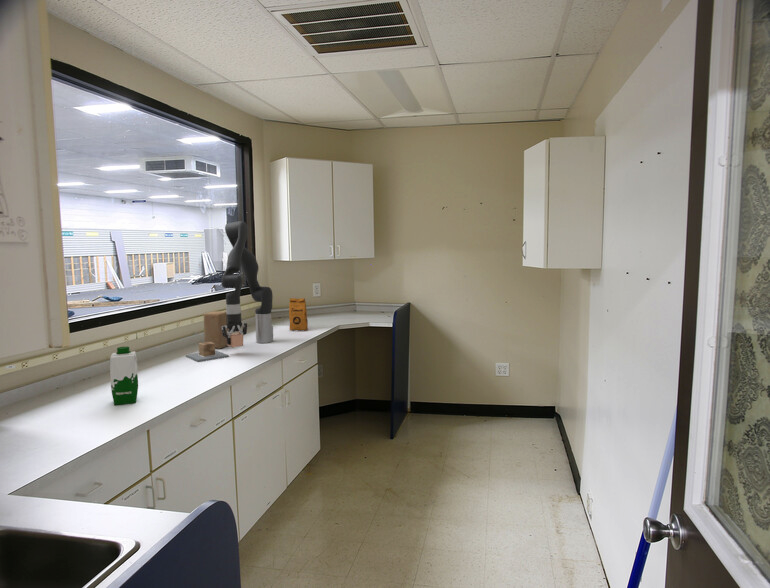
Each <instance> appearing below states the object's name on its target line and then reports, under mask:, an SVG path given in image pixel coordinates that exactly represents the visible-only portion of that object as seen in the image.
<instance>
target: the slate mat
mask: <svg viewBox="0 0 770 588" xmlns="http://www.w3.org/2000/svg"><path fill="white" fill-rule="evenodd" d="M229 356H230V355H229V354H226V353H224V352H222V351H218V350H217V349H215V355H211V356H201V355H199V352H196V353H187V354H185V357H186V358H188V357H189V359H190V358H191V360H192V359H193V360H192V361H195V362H197V363H200V362H201V363H202V362H206V360H207V361H211V360H212V359H213V360H218V358H219V359H224V357H225V358H229ZM213 360H212V361H213Z"/></svg>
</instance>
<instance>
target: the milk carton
mask: <svg viewBox="0 0 770 588" xmlns="http://www.w3.org/2000/svg"><path fill="white" fill-rule="evenodd" d="M109 359H110V360H109V369H110V370H109V373H110V389H111V396H112V400H113V401H112V402H113V406H121V405H129V404H136V403H137V398H138V389H139V374H138V360H137V354H136V351H132V350H131V351H130V346H120V347H117V348H116V352H113V353H111V355H110V358H109Z"/></svg>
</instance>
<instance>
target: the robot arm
mask: <svg viewBox="0 0 770 588" xmlns="http://www.w3.org/2000/svg"><path fill="white" fill-rule="evenodd" d="M248 229H249V227H248V225H247V223H246V222H245V221H244V220H243V221H242V220H239V221H234V222H232V221H231V222H227V223H226V224H225V226H224V232H225V235H226V237H227V240H228V241H229V242H230V244H231V246H232V248H231V250H230V252H229V253H228V255H227V261H226V267H225V271H224V273H223V275H222V277H221V280H220V281H221V282H220V283H221V286H222V287H223V288H225V289H234V290H233V291H232V292H227V293H226V294H225V303H226V305H225V306H226V307H225V312H226V318H227V325H225V326H221V329H222V334H223V337H226V338H227V344H228V345H231V338H230V337H231V334H234V333H240V334H243V336H244V335H247V332H248V331H247V330H248V323H247V322H243V321H242V307H241V291H242V287H243V282H244V281H243V280H244V279H243V277H242V275H240V274H237V273H239V272H240V271H241V270H242V271H243V273H244V277H245V279H246V282H247V285H248V288H249V292H250V295H251V298H252V300H254V301H255V302H256V303H257V302H258V303H259V302H260V303H261V305H260V306H259V307H257V308H256V309H255V310H254V312H255V313H254V314H255V315H254V316H255V342H256V343H258V344H268V343H272V342H274V325H272V324H273V323H272V322H273V321H272V310H273V290H272V288H271V287H269V286H261V285H260V283H259V280H258V273H259V269H260V268H259V267H260V266H259V264H258V260H257V258H256V256H255V254H254V253H252V252H251V251H250V250H249V249H248V248H247V247H246V242H247V239H248V233H249V230H248ZM241 327H242V328H241ZM226 328H228V331H227V333H226Z"/></svg>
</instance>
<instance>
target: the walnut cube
mask: <svg viewBox="0 0 770 588" xmlns="http://www.w3.org/2000/svg"><path fill="white" fill-rule="evenodd" d="M215 350H216V349H215V343H212V342H205V341H204V342H200V343H198V353H199V355H201V356H211V355H215Z"/></svg>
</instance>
